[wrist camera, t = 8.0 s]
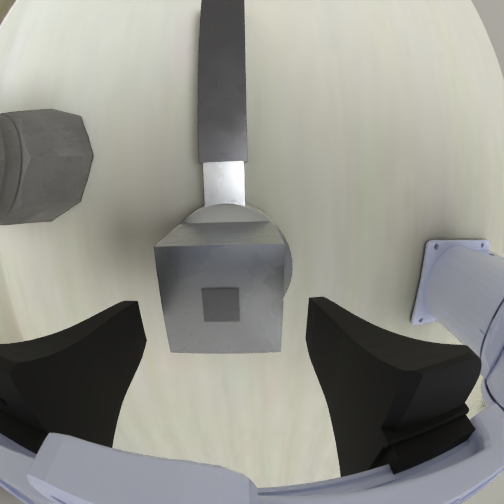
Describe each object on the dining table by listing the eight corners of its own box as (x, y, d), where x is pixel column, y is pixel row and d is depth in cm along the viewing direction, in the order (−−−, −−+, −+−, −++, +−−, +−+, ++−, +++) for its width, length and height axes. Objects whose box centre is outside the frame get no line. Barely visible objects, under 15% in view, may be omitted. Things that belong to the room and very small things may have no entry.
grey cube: (271, 221, 16) (285, 244, 11) (270, 304, 17) (280, 352, 12) (179, 223, 16) (153, 247, 11) (187, 305, 17) (170, 353, 12)
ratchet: (279, 13, 14) (289, -24, 9) (284, 306, 20) (296, 345, 15) (170, 19, 13) (153, -16, 9) (179, 309, 20) (164, 347, 15)
